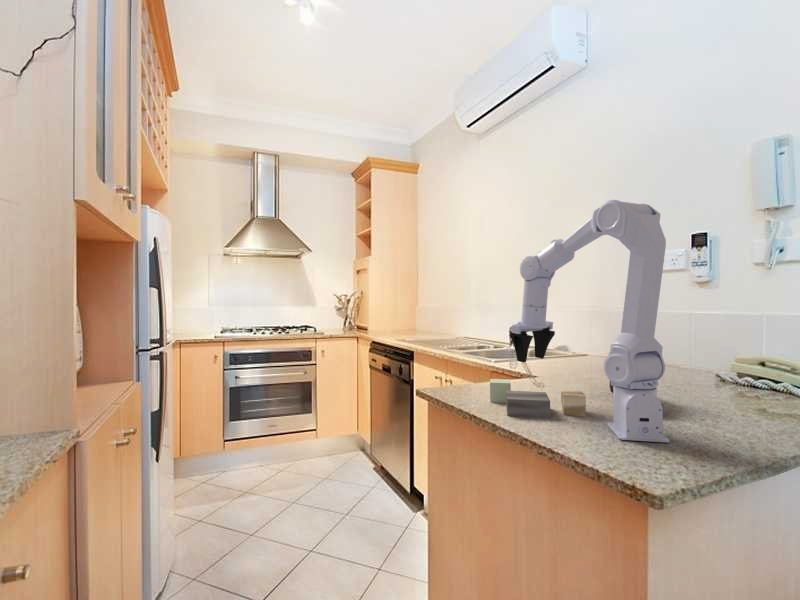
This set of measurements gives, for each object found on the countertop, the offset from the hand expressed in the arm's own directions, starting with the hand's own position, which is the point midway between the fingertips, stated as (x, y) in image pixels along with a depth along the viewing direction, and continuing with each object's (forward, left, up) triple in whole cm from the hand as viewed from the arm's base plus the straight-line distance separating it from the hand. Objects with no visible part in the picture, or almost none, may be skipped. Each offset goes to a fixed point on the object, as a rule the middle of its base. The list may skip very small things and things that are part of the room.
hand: (530, 359), depth 105 cm
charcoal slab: (-10, +1, -11) cm, 15 cm away
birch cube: (-9, -9, -11) cm, 16 cm away
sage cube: (0, +7, -11) cm, 13 cm away
